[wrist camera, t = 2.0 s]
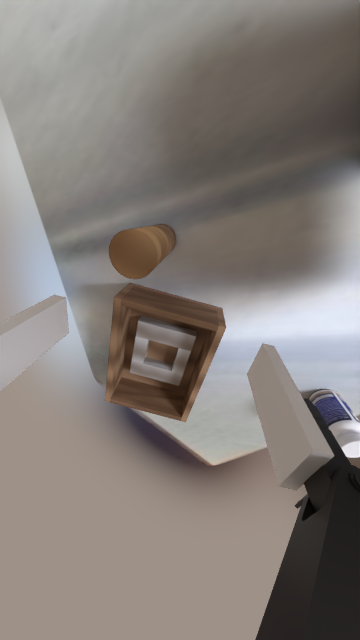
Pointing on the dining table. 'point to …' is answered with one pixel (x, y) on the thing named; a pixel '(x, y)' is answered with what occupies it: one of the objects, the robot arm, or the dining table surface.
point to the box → (160, 350)
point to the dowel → (141, 249)
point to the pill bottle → (339, 420)
